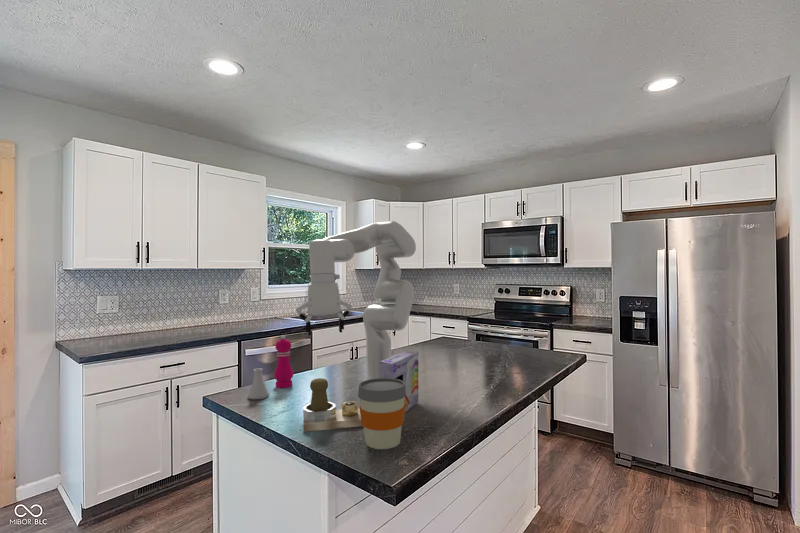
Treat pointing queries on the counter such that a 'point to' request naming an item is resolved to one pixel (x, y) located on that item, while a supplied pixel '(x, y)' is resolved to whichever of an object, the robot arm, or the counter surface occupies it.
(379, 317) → the robot arm
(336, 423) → the fitting board
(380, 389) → the reusable coffee cup
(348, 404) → the narrow brass collar
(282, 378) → the pepper mill
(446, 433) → the counter surface
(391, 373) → the cake pan box
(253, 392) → the flask
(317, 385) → the cork
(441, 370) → the counter surface
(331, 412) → the wide steel collar
